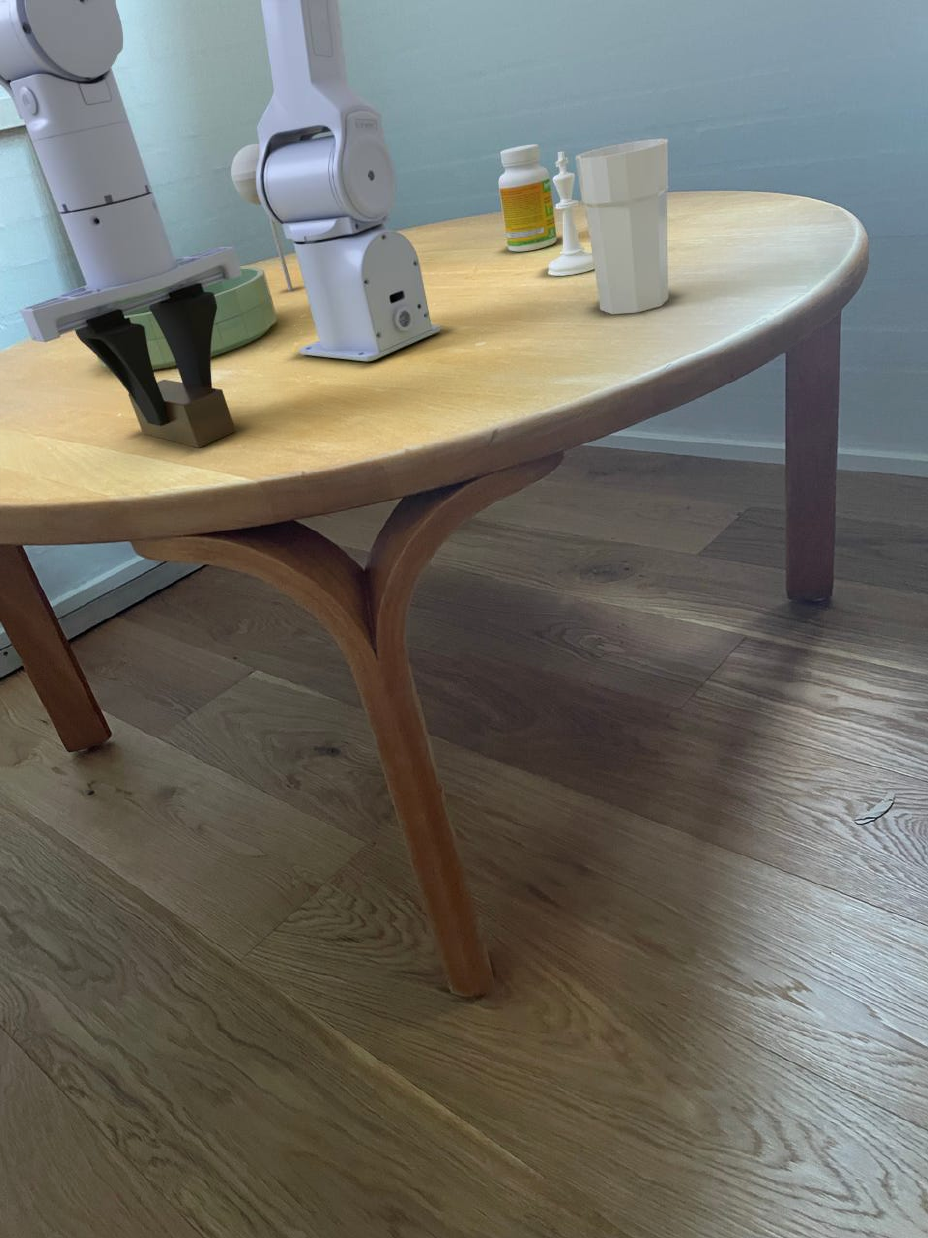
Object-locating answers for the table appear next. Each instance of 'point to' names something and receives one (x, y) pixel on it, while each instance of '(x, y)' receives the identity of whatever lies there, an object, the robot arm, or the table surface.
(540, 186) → the supplement bottle
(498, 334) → the table surface
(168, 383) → the block
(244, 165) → the lollipop
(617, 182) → the cup
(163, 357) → the bowl
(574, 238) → the chess piece
